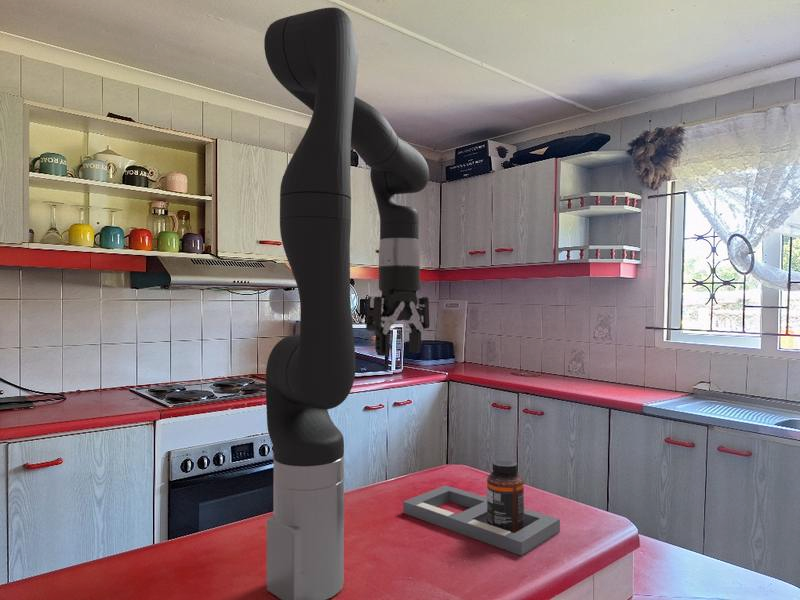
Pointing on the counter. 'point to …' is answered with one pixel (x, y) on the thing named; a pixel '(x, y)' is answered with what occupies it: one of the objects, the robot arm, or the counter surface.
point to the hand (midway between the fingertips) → (399, 353)
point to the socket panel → (480, 519)
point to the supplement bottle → (505, 496)
